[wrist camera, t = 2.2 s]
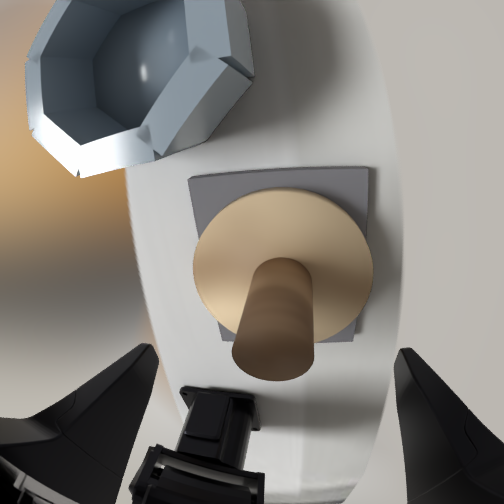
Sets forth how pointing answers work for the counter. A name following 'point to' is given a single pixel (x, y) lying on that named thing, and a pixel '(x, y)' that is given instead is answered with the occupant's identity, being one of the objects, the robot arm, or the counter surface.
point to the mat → (308, 178)
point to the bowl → (134, 78)
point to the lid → (282, 277)
